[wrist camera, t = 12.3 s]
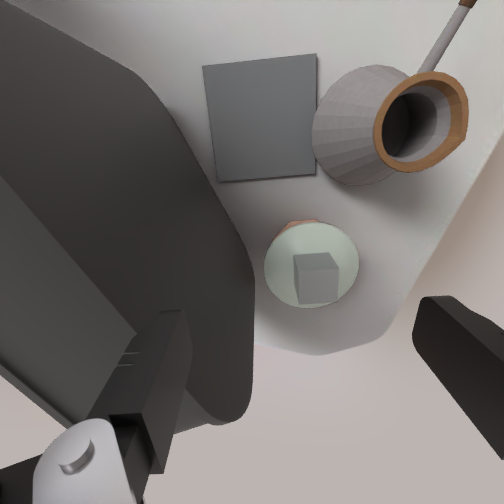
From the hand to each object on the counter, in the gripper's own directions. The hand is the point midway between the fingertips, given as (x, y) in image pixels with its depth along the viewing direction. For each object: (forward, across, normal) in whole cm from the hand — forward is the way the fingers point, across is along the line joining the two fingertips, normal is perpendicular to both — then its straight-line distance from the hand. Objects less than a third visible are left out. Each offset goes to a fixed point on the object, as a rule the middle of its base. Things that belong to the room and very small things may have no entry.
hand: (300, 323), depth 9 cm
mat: (+26, 0, -7) cm, 27 cm away
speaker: (+27, +10, +1) cm, 29 cm away
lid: (+20, -5, +8) cm, 22 cm away
